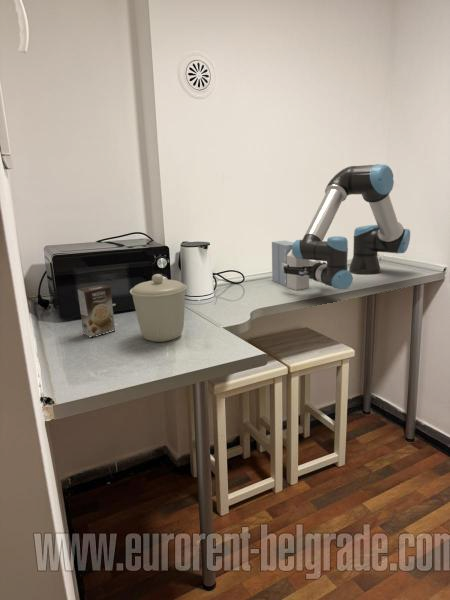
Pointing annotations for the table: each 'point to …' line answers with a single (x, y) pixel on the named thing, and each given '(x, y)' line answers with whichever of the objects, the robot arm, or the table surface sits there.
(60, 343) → the table surface
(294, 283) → the milk carton
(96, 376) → the table surface
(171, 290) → the canister
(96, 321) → the coffee box
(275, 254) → the pack
